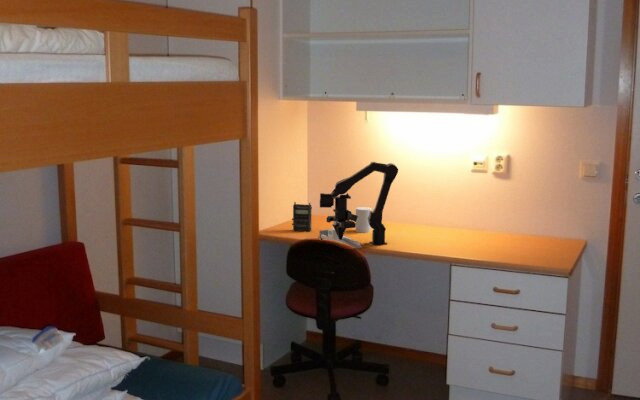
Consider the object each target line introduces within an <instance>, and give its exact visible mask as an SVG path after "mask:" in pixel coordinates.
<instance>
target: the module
mask: <svg viewBox="0 0 640 400" xmlns="http://www.w3.org/2000/svg"><path fill="white" fill-rule="evenodd" d="M327 230H328V237H330V238H333V239H335V240H340V239H339V238H338V235H337V233H336V231H335V229H334V227H332V228H331V227H330V228H327ZM341 240H342V239H341Z"/></svg>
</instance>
